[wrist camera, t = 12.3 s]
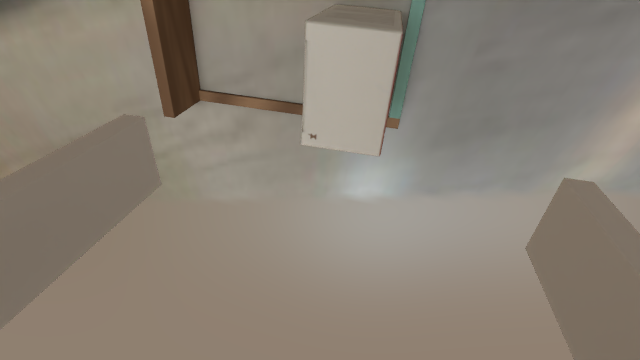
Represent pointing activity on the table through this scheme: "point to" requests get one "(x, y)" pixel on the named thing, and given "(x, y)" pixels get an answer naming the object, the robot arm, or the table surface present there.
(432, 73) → the table surface
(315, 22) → the small box
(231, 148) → the table surface
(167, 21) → the bay
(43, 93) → the table surface
